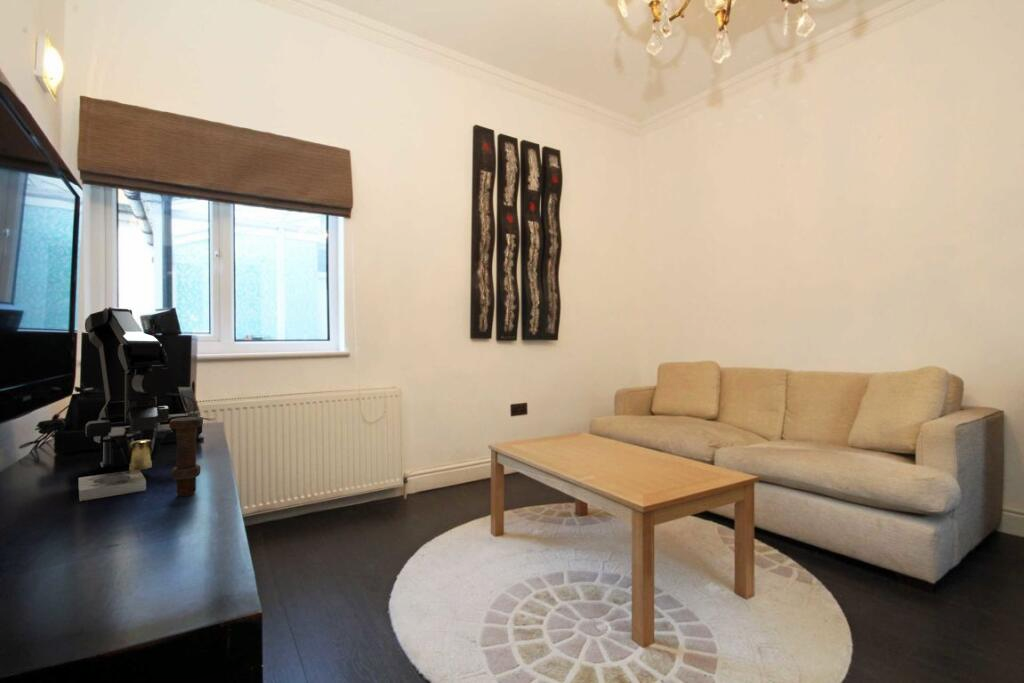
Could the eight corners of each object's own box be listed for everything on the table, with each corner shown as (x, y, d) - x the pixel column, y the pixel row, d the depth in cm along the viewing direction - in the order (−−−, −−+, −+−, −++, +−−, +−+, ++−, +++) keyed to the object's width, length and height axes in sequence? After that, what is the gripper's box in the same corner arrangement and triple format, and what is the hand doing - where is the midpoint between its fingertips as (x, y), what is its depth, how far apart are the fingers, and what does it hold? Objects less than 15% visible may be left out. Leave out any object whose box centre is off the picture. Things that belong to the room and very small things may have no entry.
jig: (78, 487, 99) (78, 477, 99) (139, 478, 106) (139, 469, 106) (79, 501, 90) (79, 490, 90) (145, 490, 97) (146, 480, 97)
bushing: (128, 467, 109) (128, 441, 109) (150, 464, 112) (150, 439, 112) (130, 471, 106) (130, 444, 106) (152, 468, 109) (152, 441, 109)
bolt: (209, 491, 96) (209, 416, 96) (190, 499, 91) (190, 420, 91) (182, 490, 97) (183, 416, 97) (162, 498, 92) (162, 420, 92)
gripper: (87, 400, 97) (86, 477, 97) (196, 393, 109) (195, 461, 109) (85, 396, 105) (85, 467, 105) (187, 390, 118) (186, 453, 117)
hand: (140, 462), depth 109 cm, fingers closed on bushing, 4 cm apart
